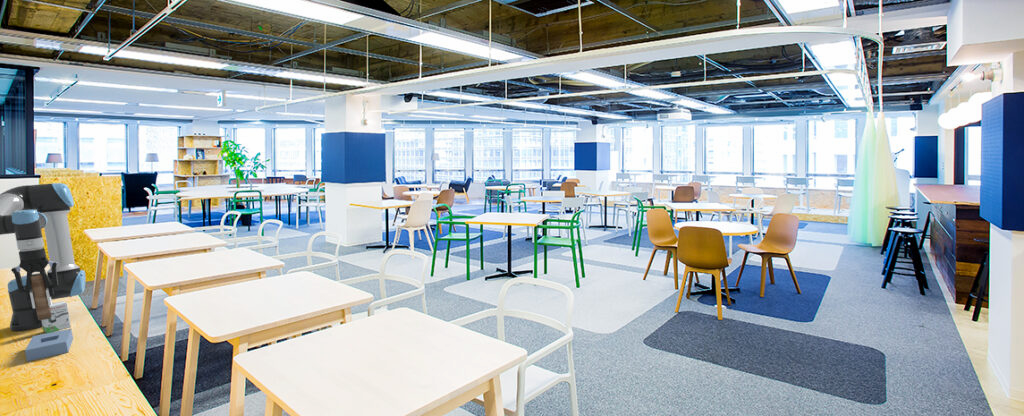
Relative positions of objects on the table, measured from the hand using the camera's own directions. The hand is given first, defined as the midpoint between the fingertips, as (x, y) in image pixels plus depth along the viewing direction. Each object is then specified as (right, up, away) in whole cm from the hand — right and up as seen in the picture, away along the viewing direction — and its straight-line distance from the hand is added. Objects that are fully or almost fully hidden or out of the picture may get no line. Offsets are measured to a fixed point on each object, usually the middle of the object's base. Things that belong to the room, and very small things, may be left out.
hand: (42, 306), depth 199 cm
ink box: (-17, -16, +26) cm, 35 cm away
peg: (0, -5, +1) cm, 5 cm away
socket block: (+1, -18, +3) cm, 19 cm away
